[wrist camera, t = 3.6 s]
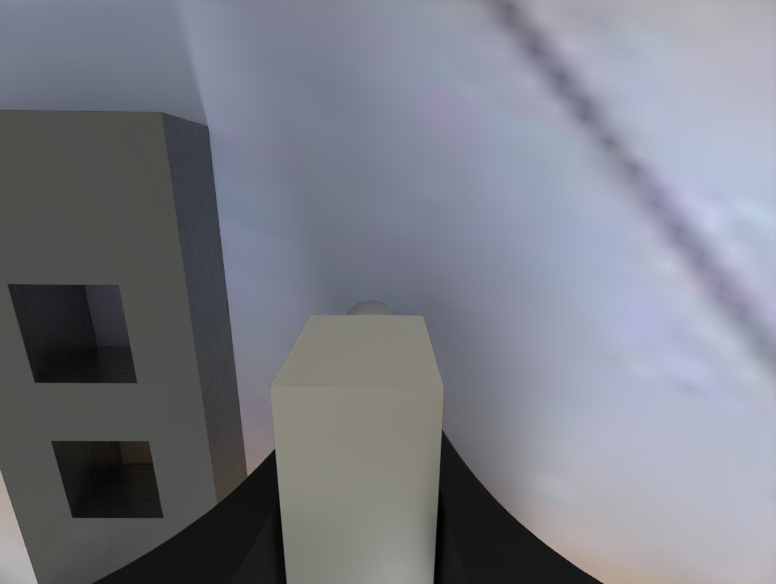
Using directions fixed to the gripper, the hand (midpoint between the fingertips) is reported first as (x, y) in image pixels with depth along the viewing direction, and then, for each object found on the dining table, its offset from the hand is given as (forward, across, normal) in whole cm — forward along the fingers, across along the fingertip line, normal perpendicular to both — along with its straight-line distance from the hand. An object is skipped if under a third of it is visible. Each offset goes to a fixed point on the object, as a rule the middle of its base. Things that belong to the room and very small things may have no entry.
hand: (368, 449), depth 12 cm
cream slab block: (+3, 0, 0) cm, 3 cm away
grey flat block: (+5, +10, 0) cm, 11 cm away
